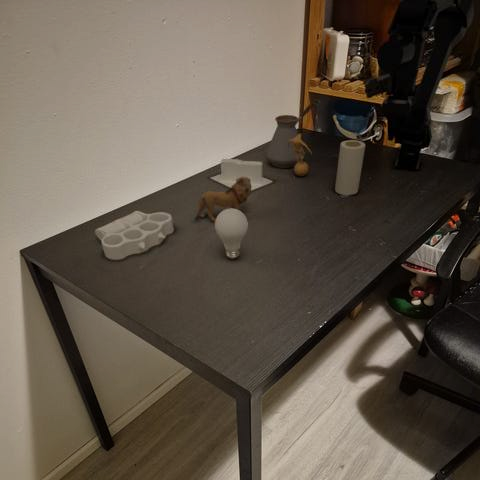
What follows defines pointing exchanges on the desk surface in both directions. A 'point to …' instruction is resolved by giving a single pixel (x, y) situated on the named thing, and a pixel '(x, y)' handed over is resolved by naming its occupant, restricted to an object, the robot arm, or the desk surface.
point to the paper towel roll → (349, 167)
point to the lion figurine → (225, 197)
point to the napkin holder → (241, 173)
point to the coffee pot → (285, 140)
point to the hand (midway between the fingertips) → (392, 134)
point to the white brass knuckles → (134, 233)
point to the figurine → (301, 166)
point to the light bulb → (231, 230)
